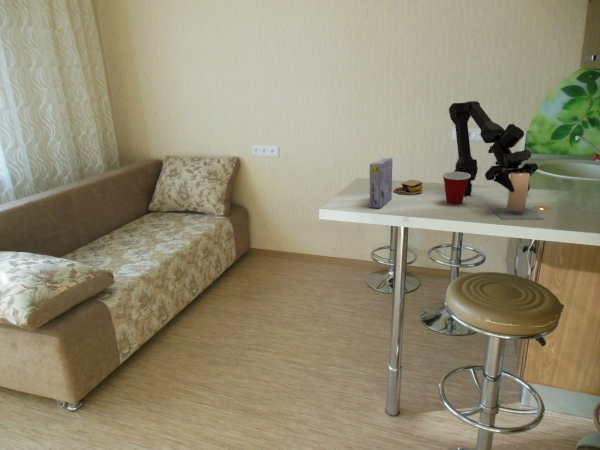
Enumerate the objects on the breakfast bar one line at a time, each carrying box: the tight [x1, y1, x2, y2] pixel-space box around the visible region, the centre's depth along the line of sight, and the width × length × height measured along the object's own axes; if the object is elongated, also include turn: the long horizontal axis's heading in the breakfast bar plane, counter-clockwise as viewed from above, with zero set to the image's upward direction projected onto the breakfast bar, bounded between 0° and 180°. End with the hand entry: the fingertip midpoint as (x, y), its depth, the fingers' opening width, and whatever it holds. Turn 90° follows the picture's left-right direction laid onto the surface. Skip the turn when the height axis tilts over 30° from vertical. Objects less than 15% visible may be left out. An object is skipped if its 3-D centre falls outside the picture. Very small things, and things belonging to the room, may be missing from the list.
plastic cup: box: [441, 171, 471, 206], centre depth 176 cm, size 11×11×12 cm
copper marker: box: [533, 205, 551, 211], centre depth 169 cm, size 6×6×1 cm
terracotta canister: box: [506, 172, 531, 211], centre depth 159 cm, size 6×6×13 cm
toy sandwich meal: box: [393, 179, 423, 196], centre depth 199 cm, size 12×14×5 cm
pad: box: [489, 207, 545, 221], centre depth 161 cm, size 14×14×1 cm
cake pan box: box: [369, 157, 393, 209], centre depth 179 cm, size 19×5×18 cm, turn 154°
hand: (520, 190), depth 157 cm, fingers closed on terracotta canister, 6 cm apart
